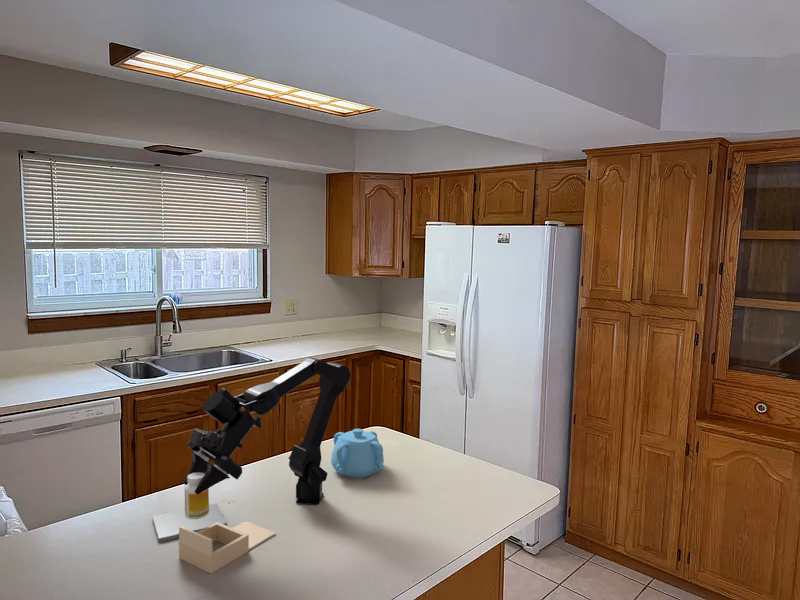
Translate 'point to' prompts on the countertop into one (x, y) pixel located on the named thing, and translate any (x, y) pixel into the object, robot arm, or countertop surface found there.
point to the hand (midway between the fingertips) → (190, 489)
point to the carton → (237, 541)
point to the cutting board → (185, 522)
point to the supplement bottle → (196, 498)
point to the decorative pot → (357, 453)
